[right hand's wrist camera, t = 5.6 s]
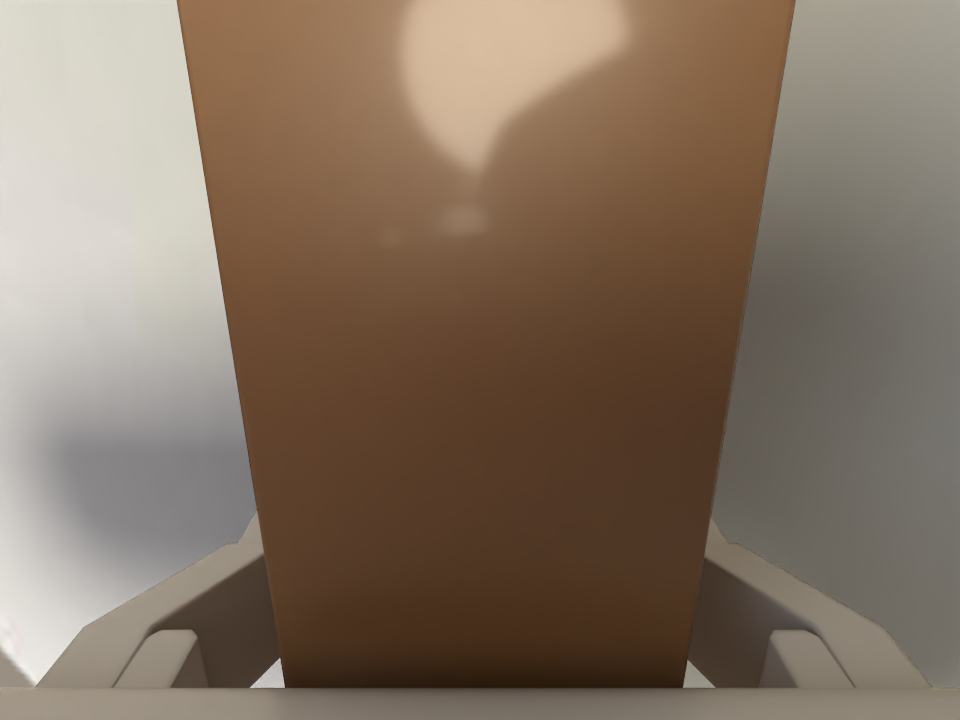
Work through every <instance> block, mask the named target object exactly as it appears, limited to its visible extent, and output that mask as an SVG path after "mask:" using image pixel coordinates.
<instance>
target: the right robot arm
mask: <svg viewBox="0 0 960 720" xmlns="http://www.w3.org/2000/svg"><path fill="white" fill-rule="evenodd" d="M279 658H280V652H279V645H278V639H277V633H276V626H275V620H274V614H273V607H272V601H271V595H270V588H269V582H268V576H267V569H266V563H265V557H264V550H263V544H262V538H261V531H260V525H259V519H258V512H257V511H256V513H255V514H254V516H253V518H252V520H251V521H250V523H249V525H248V526H247V528H246V530H245V531H244V533H243V535H242V536H241V538H240V540H239V541H238V543H228V544H227V545H225V546H223V547H221V548H220V549H218V550H216V551H214V552H213V553H211V554H209V555H208V556H206V557H204V558H202V559H201V560H199V561H197V562H195V563H194V564H192V565H190V566H189V567H187V568H185V569H183V570H182V571H180V572H178V573H176V574H175V575H173V576H171V577H169V578H168V579H166V580H164V581H163V582H161V583H159V584H157V585H156V586H154V587H152V588H150V589H149V590H147V591H145V592H144V593H142V594H140V595H138V596H137V597H135V598H133V599H131V600H130V601H128V602H126V603H125V604H123V605H121V606H119V607H118V608H116V609H114V610H112V611H111V612H109V613H107V614H106V615H104V616H102V617H100V618H99V619H97V620H95V621H93V622H92V623H90V624H88V625H87V626H85V627H83V629H82V630H81V631H80V632H79V634H78V635H77V636H76V637H75V639H74V640H73V641H72V642H71V643H70V645H69V646H68V647H67V648H66V650H65V651H64V652H63V653H62V655H61V656H60V657H59V658H58V660H57V661H56V662H55V663H54V664H53V666H52V667H51V668H50V669H49V671H48V672H47V673H46V674H45V676H44V677H43V678H42V679H41V681H40V682H39V683H38V684H37V685H36V687H35V688H0V720H960V688H933V687H932V686H931V685H930V683H929V682H928V681H927V680H926V679H925V677H924V676H923V675H922V674H921V672H920V671H919V670H918V669H917V668H916V666H915V665H914V664H913V663H912V661H911V660H910V659H909V658H908V657H907V655H906V654H905V653H904V652H903V650H902V649H901V648H900V647H899V646H898V644H897V643H896V642H895V641H894V639H893V638H892V637H891V636H890V634H889V633H888V632H887V631H886V630H885V628H883V627H882V626H880V625H878V624H876V623H875V622H873V621H871V620H869V619H868V618H866V617H864V616H862V615H861V614H859V613H857V612H855V611H854V610H852V609H850V608H848V607H847V606H845V605H843V604H842V603H840V602H838V601H836V600H835V599H833V598H831V597H829V596H828V595H826V594H824V593H822V592H821V591H819V590H817V589H815V588H814V587H812V586H810V585H809V584H807V583H805V582H803V581H802V580H800V579H798V578H796V577H795V576H793V575H791V574H789V573H788V572H786V571H784V570H782V569H781V568H779V567H777V566H776V565H774V564H772V563H770V562H769V561H767V560H765V559H763V558H762V557H760V556H758V555H756V554H755V553H753V552H751V551H749V550H748V549H746V548H744V547H742V546H741V545H739V544H737V543H728V542H727V541H726V539H725V537H724V536H723V534H722V532H721V531H720V529H719V528H718V526H717V524H716V523H715V521H714V520H713V518H712V516H711V519H710V525H709V531H708V537H707V543H706V549H705V555H704V562H703V568H702V574H701V580H700V586H699V592H698V598H697V604H696V610H695V616H694V623H693V629H692V635H691V641H690V647H689V653H688V660H689V661H690V662H691V663H692V664H693V665H694V666H695V667H696V668H697V669H698V670H699V671H700V672H701V673H702V674H703V675H704V676H705V677H706V678H707V679H708V680H709V681H710V682H711V683H712V684H713V685H714V686H715V687H716V688H250V687H251V686H252V685H253V684H254V683H255V682H256V681H257V680H258V679H259V678H260V677H261V676H262V675H263V674H264V673H265V672H266V671H267V670H268V669H269V668H270V667H271V666H272V665H273V664H274V663H275V662H276V661H277V660H278V659H279Z"/></svg>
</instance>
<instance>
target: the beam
mask: <svg viewBox="0 0 960 720" xmlns="http://www.w3.org/2000/svg"><path fill="white" fill-rule="evenodd" d="M795 1H796V0H177V5H178V12H179V18H180V24H181V31H182V37H183V43H184V50H185V56H186V62H187V69H188V75H189V81H190V88H191V94H192V100H193V107H194V113H195V119H196V126H197V132H198V138H199V145H200V151H201V157H202V164H203V170H204V176H205V183H206V189H207V195H208V202H209V208H210V214H211V221H212V227H213V233H214V240H215V246H216V252H217V259H218V265H219V271H220V278H221V284H222V290H223V297H224V303H225V310H226V316H227V322H228V329H229V335H230V341H231V348H232V354H233V360H234V367H235V373H236V379H237V386H238V392H239V398H240V405H241V411H242V417H243V424H244V430H245V436H246V443H247V449H248V455H249V462H250V468H251V474H252V481H253V487H254V493H255V500H256V506H257V512H258V519H259V525H260V531H261V538H262V544H263V550H264V557H265V563H266V569H267V576H268V582H269V588H270V595H271V601H272V607H273V614H274V620H275V626H276V633H277V639H278V645H279V652H280V658H281V664H282V671H283V677H284V683H285V688H683V684H684V677H685V671H686V665H687V659H688V653H689V647H690V641H691V635H692V629H693V623H694V616H695V610H696V604H697V598H698V592H699V586H700V580H701V574H702V568H703V562H704V555H705V549H706V543H707V537H708V531H709V525H710V519H711V513H712V507H713V501H714V495H715V488H716V482H717V476H718V470H719V464H720V458H721V452H722V446H723V440H724V434H725V427H726V421H727V415H728V409H729V403H730V397H731V391H732V385H733V379H734V373H735V367H736V360H737V354H738V348H739V342H740V336H741V330H742V324H743V318H744V312H745V306H746V299H747V293H748V287H749V281H750V275H751V269H752V263H753V257H754V251H755V245H756V238H757V232H758V226H759V220H760V214H761V208H762V202H763V196H764V190H765V184H766V178H767V171H768V165H769V159H770V153H771V147H772V141H773V135H774V129H775V123H776V117H777V110H778V104H779V98H780V92H781V86H782V80H783V74H784V68H785V62H786V56H787V50H788V43H789V37H790V31H791V25H792V19H793V13H794V7H795Z"/></svg>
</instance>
